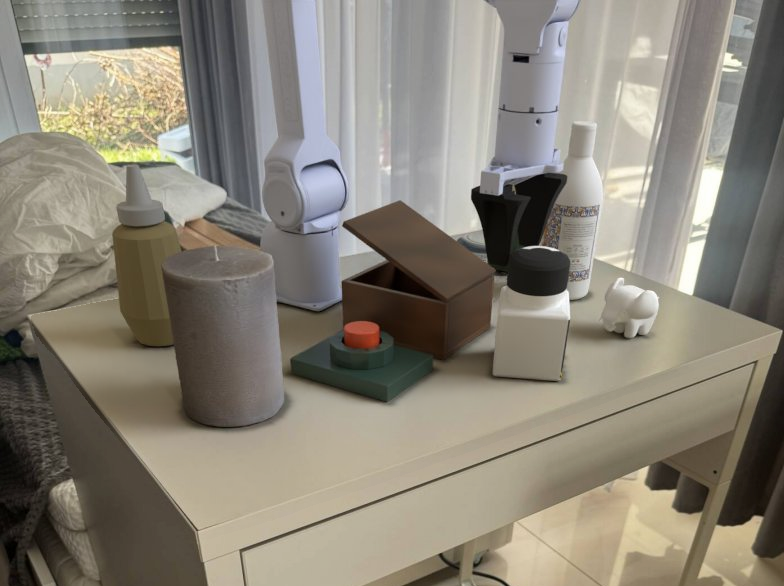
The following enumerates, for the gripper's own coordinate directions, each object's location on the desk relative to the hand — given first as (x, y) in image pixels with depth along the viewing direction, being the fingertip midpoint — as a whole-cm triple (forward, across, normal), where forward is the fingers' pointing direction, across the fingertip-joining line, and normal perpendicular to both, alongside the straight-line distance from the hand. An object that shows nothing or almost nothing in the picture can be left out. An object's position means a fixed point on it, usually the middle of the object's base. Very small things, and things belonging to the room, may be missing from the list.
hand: (513, 254), depth 82 cm
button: (+7, -15, +10) cm, 19 cm away
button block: (+10, -15, +10) cm, 20 cm away
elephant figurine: (+10, +11, -10) cm, 18 cm away
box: (+10, -2, +10) cm, 15 cm away
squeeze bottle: (+10, -20, +34) cm, 40 cm away
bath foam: (+10, +20, +2) cm, 23 cm away
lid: (+1, -2, +10) cm, 11 cm away
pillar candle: (+10, -28, +16) cm, 33 cm away
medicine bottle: (+10, -4, -4) cm, 12 cm away
